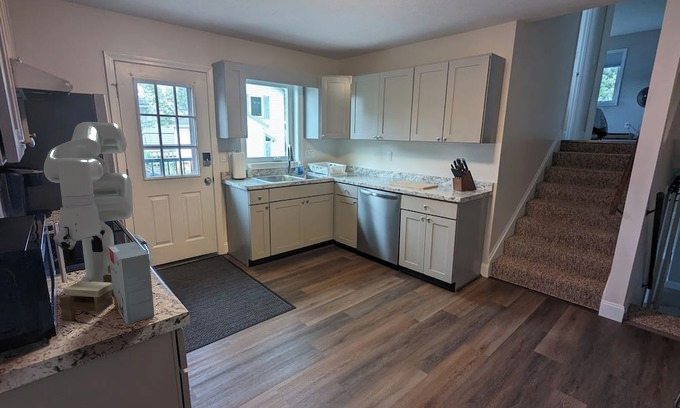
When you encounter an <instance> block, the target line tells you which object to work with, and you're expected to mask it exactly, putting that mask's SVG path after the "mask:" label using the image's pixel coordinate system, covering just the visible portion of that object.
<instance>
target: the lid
mask: <svg viewBox="0 0 680 408" xmlns="http://www.w3.org/2000/svg"><path fill="white" fill-rule="evenodd" d="M112 289H113V287H112V283H107V282H90V281H81V280H80V281H78V282H76V283H74V284H70V285H68V286H66V287H65V288H63V291H64V296H67V295H72V296H89V297H100V296H101V295H103V294H105V293H107V292H109V291H110V290H112Z"/></svg>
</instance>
